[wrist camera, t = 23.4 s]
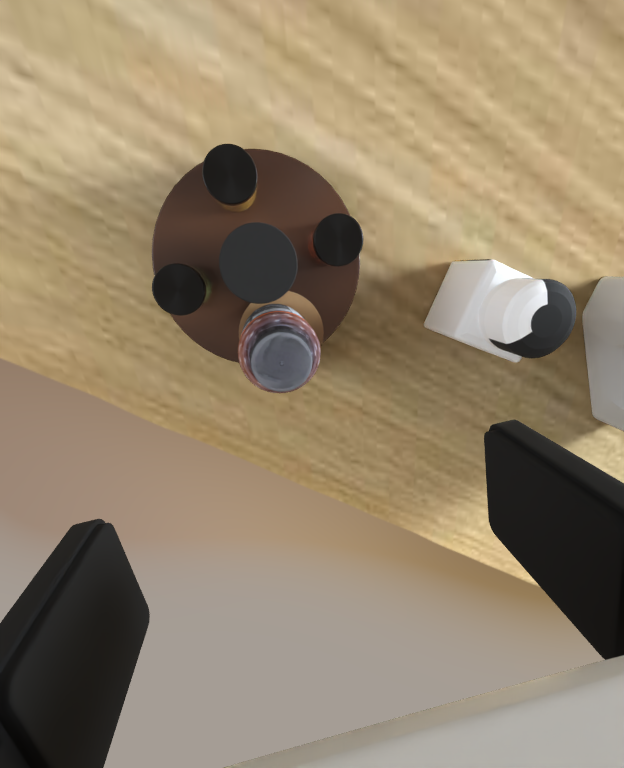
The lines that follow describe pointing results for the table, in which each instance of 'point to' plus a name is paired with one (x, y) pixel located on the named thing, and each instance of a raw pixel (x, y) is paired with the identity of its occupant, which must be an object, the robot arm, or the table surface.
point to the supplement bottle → (278, 349)
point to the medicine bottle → (502, 310)
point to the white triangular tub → (606, 350)
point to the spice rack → (253, 247)
